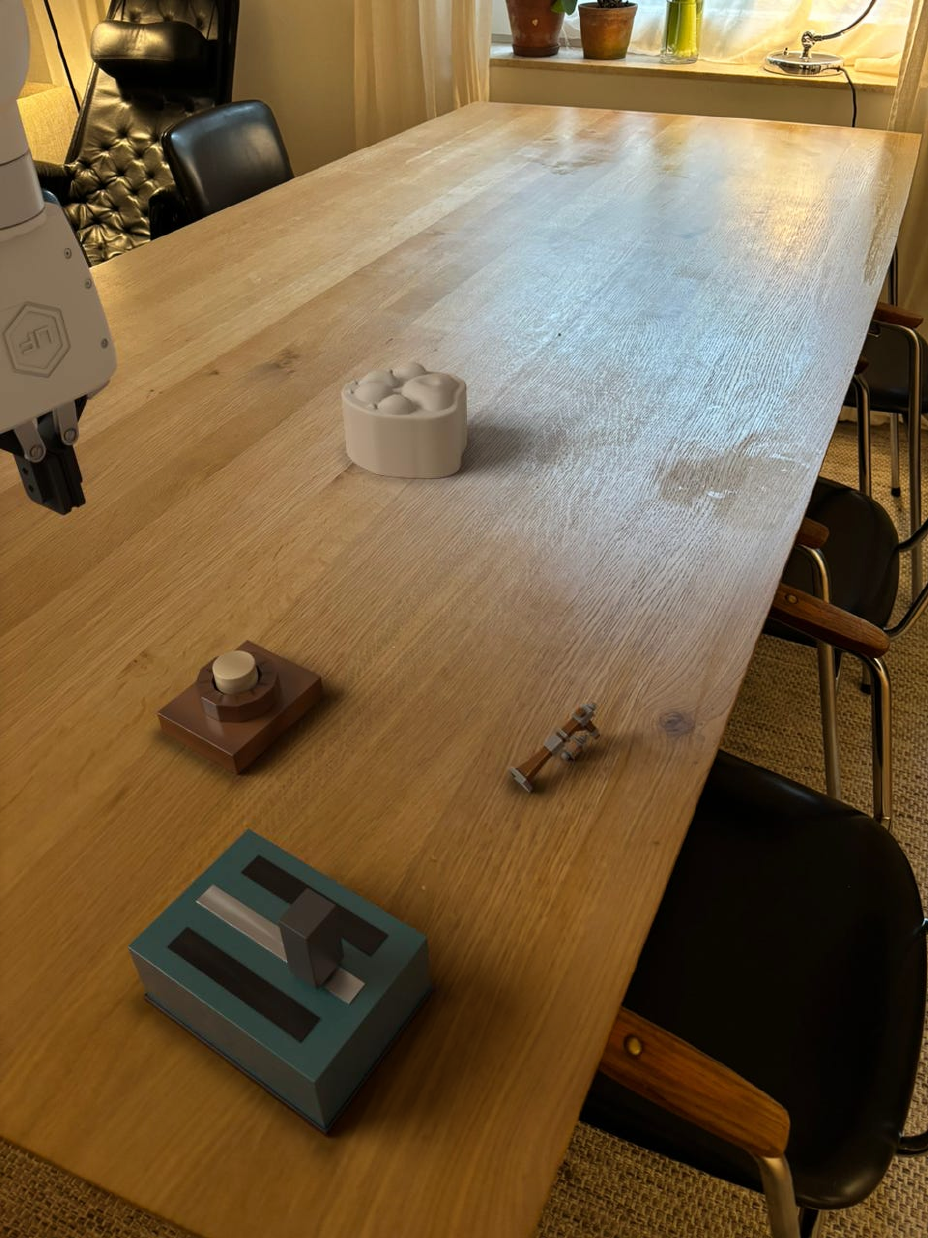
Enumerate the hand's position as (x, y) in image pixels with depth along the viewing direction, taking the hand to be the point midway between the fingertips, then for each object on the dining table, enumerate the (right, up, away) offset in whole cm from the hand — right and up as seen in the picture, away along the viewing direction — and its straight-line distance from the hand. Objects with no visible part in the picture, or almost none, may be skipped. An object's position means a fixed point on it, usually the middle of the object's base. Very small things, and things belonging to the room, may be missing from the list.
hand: (60, 502), depth 62 cm
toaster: (+15, -30, -1) cm, 34 cm away
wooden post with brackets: (+32, -18, +13) cm, 39 cm away
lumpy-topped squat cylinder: (+19, +11, +47) cm, 52 cm away
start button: (+8, -12, +15) cm, 20 cm away
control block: (+8, -15, +17) cm, 24 cm away
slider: (+17, -26, -6) cm, 32 cm away
